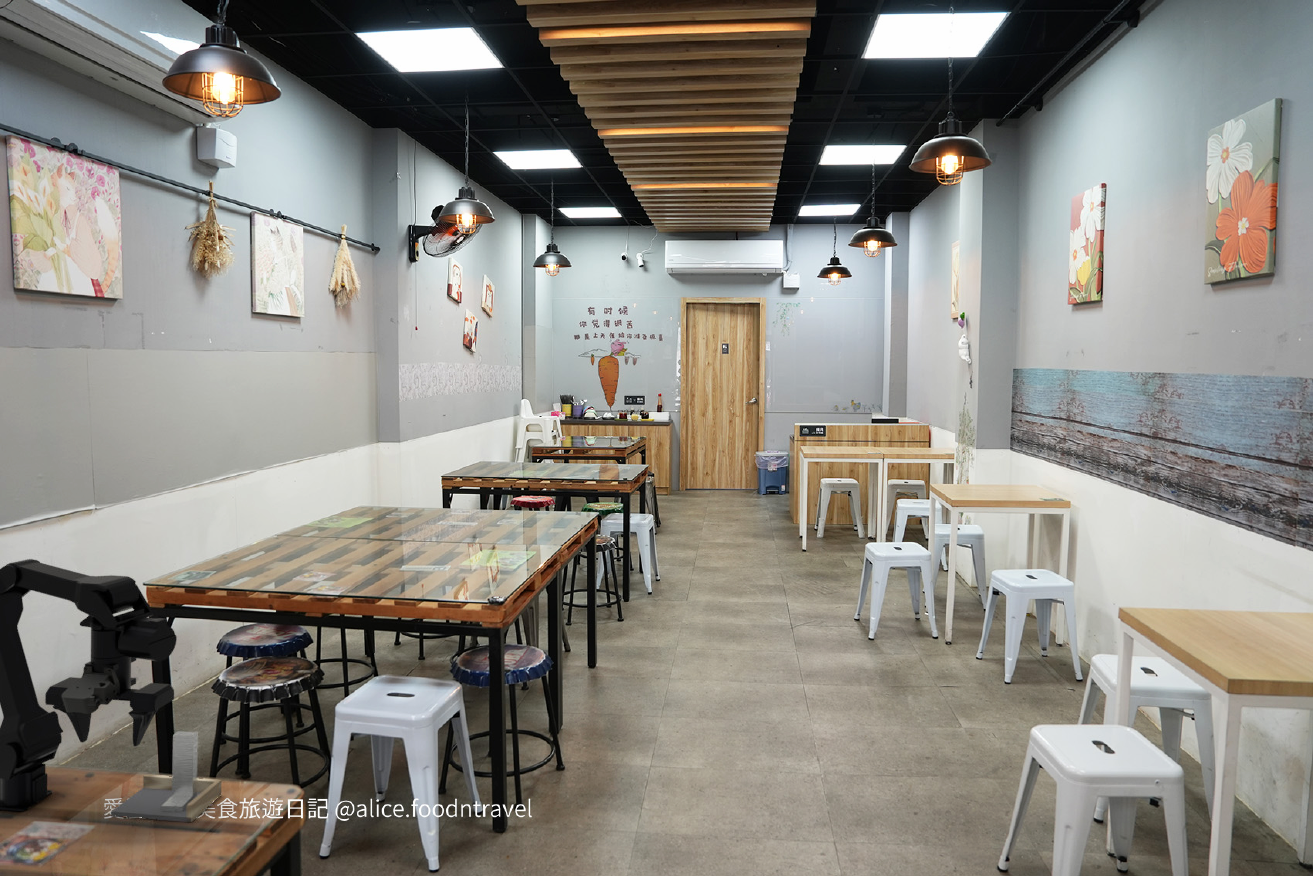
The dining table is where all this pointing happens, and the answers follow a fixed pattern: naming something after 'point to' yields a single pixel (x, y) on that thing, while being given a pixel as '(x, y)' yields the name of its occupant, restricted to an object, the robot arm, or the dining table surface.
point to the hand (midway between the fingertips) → (110, 743)
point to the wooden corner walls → (208, 794)
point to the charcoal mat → (150, 806)
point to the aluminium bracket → (183, 772)
